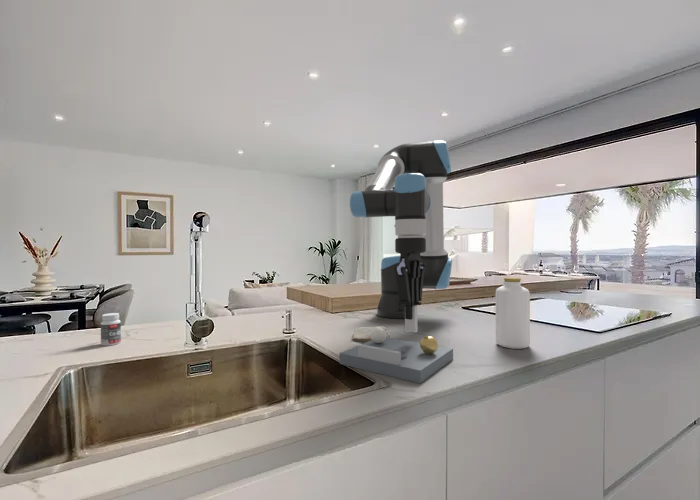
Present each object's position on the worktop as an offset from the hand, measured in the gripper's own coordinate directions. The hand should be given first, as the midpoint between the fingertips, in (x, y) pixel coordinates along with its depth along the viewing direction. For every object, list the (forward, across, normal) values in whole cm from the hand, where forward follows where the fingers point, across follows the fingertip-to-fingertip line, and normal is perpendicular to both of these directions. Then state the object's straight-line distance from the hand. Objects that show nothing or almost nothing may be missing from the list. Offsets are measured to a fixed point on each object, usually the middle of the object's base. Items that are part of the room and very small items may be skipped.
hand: (411, 331), depth 89 cm
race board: (+5, +8, 0) cm, 9 cm away
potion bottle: (+6, -21, +19) cm, 29 cm away
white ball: (+1, +5, -7) cm, 8 cm away
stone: (+6, -8, -16) cm, 19 cm away
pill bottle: (+5, +40, -74) cm, 84 cm away
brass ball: (+1, +6, +7) cm, 9 cm away
